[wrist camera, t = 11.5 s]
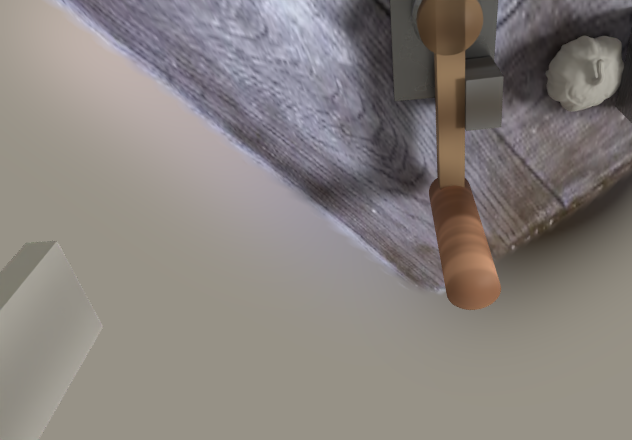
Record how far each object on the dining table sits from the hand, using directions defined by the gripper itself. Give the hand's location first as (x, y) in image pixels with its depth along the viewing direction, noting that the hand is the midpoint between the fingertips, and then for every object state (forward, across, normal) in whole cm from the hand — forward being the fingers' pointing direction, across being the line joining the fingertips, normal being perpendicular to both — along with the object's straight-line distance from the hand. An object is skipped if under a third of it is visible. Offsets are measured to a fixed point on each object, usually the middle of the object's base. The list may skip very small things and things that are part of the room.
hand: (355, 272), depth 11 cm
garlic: (+35, +16, -9) cm, 39 cm away
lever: (+33, +6, -10) cm, 35 cm away
